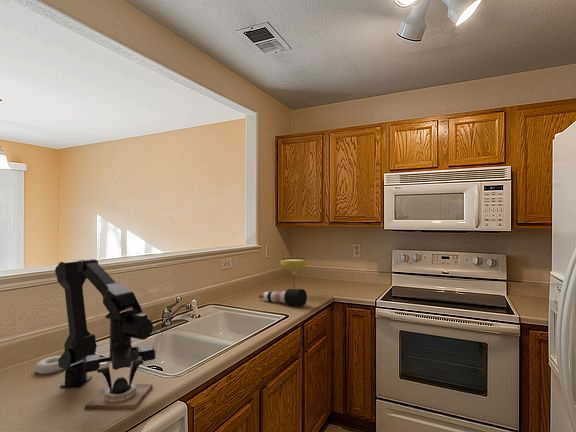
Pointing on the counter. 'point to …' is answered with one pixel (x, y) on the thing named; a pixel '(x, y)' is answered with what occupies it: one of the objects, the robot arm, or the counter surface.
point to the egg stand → (119, 397)
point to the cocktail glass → (293, 265)
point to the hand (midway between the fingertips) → (120, 386)
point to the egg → (120, 386)
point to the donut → (48, 365)
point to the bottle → (287, 297)
